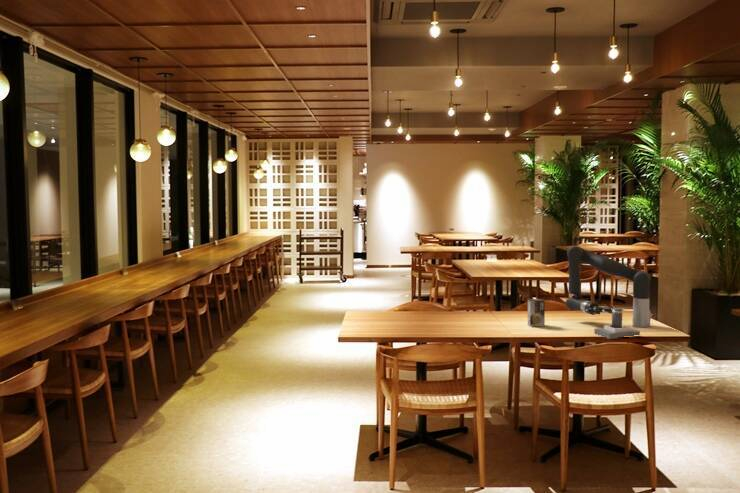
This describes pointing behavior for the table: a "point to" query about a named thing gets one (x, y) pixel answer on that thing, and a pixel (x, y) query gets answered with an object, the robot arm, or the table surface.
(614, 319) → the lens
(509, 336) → the table surface
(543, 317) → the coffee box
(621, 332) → the grey flat block
